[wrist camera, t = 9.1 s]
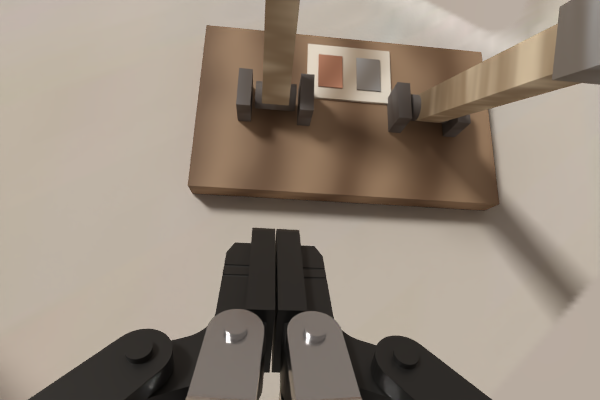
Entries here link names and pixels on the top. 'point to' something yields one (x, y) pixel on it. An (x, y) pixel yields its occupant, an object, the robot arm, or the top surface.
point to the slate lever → (522, 68)
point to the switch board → (338, 126)
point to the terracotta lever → (278, 57)
